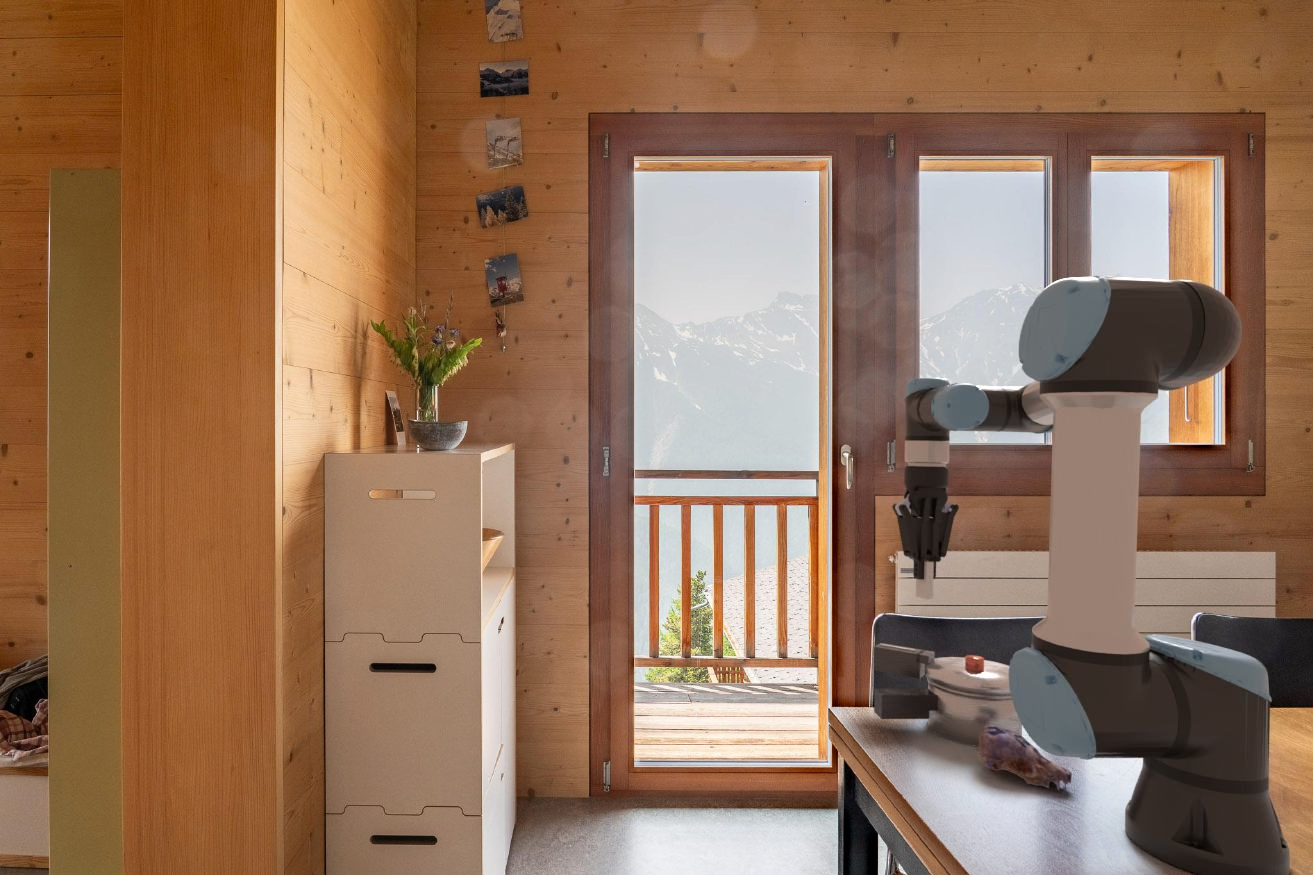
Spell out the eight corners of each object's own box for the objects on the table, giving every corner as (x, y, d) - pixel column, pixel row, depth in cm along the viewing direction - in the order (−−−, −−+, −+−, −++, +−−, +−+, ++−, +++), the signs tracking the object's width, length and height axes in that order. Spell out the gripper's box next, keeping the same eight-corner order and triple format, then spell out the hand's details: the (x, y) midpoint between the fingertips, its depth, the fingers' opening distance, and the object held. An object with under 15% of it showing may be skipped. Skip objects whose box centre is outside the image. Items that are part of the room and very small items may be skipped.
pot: (1042, 748, 113) (1043, 695, 113) (895, 749, 112) (896, 695, 112) (993, 714, 128) (993, 668, 128) (861, 715, 126) (862, 668, 126)
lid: (1016, 708, 109) (1017, 677, 110) (861, 677, 123) (862, 649, 123) (1034, 684, 122) (1034, 656, 122) (891, 658, 136) (891, 633, 136)
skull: (1080, 788, 100) (1080, 742, 100) (1053, 803, 95) (1053, 755, 95) (994, 758, 109) (995, 716, 110) (966, 770, 105) (966, 726, 105)
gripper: (941, 465, 138) (939, 591, 138) (882, 464, 133) (880, 595, 133) (971, 466, 131) (968, 599, 131) (910, 465, 126) (908, 603, 126)
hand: (924, 597), depth 132 cm, fingers closed
